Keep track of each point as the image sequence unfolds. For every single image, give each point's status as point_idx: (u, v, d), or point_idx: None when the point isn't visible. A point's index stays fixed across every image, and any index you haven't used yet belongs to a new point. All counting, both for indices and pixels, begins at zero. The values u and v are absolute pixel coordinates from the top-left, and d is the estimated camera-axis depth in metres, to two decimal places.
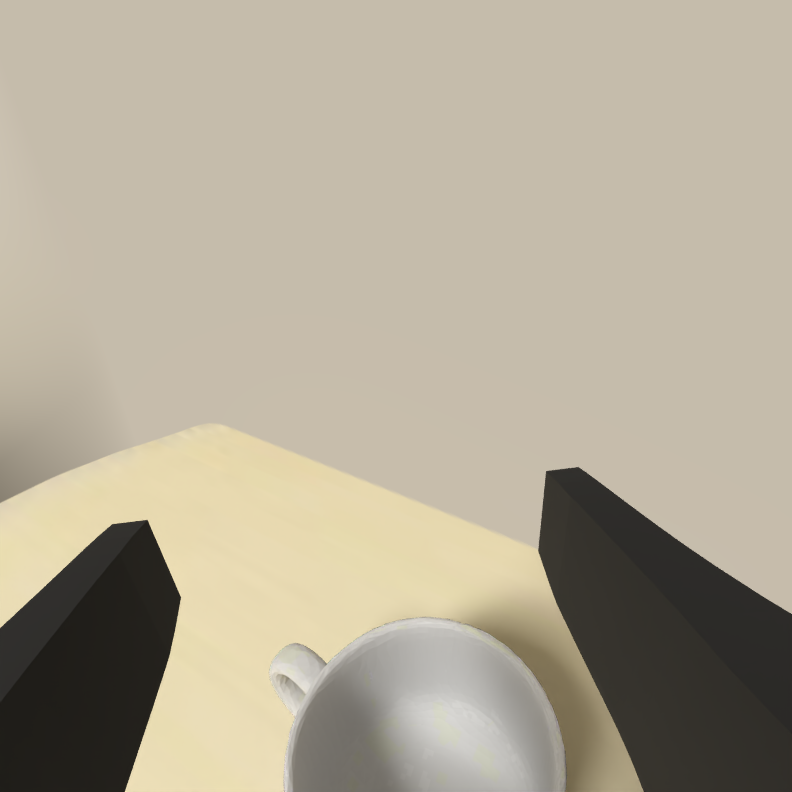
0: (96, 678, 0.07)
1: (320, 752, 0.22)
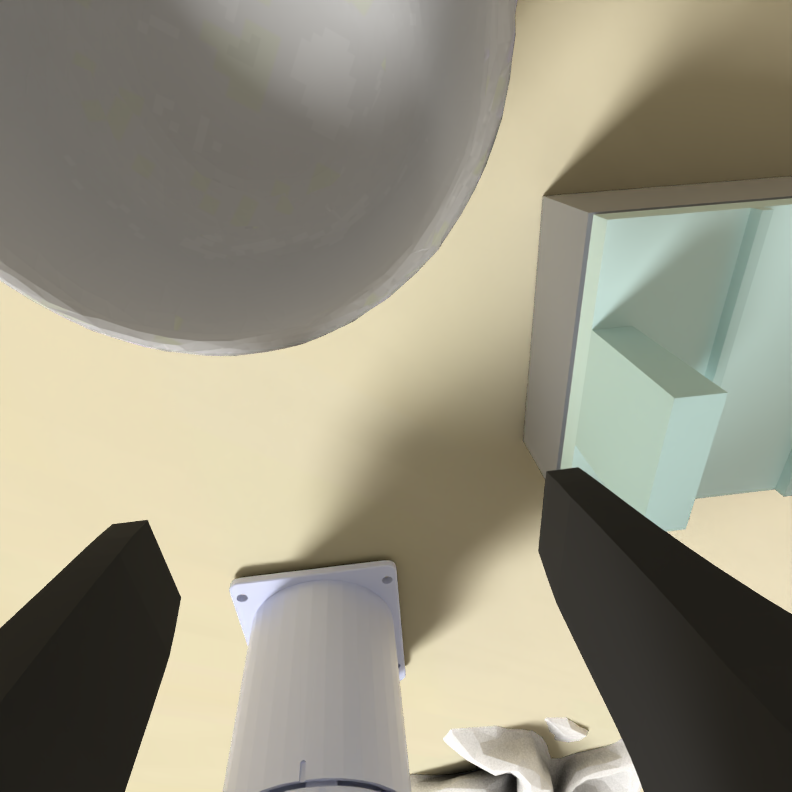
0: (96, 678, 0.07)
1: None
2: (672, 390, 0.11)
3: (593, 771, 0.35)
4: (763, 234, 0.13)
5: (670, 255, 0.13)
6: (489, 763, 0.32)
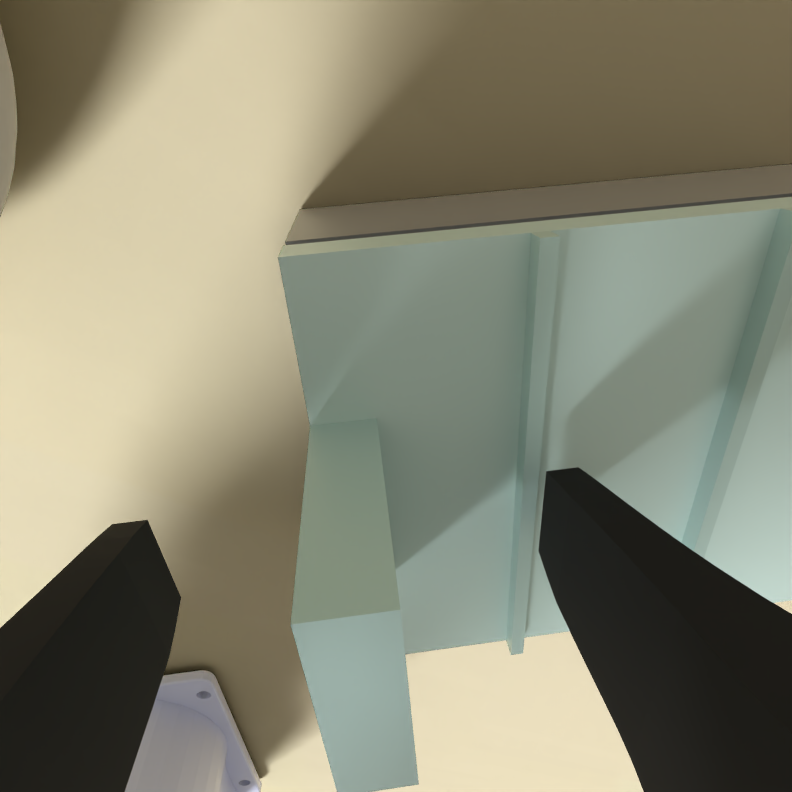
0: (96, 678, 0.07)
1: None
2: (305, 597, 0.06)
3: None
4: (550, 278, 0.07)
5: (409, 312, 0.08)
6: None
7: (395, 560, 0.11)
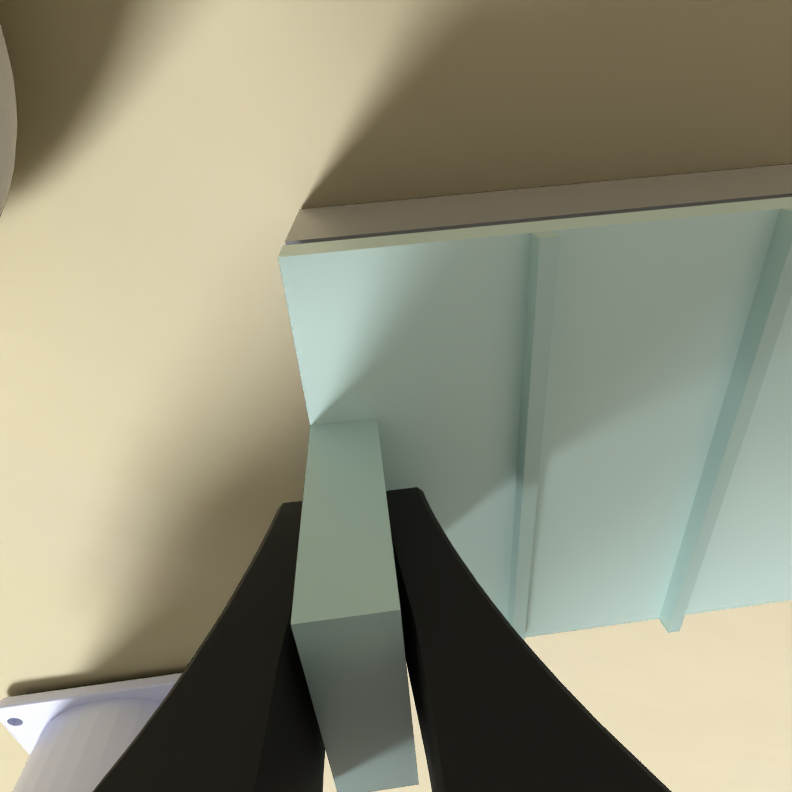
0: None
1: None
2: (306, 597, 0.06)
3: None
4: (550, 278, 0.07)
5: (409, 312, 0.08)
6: None
7: None
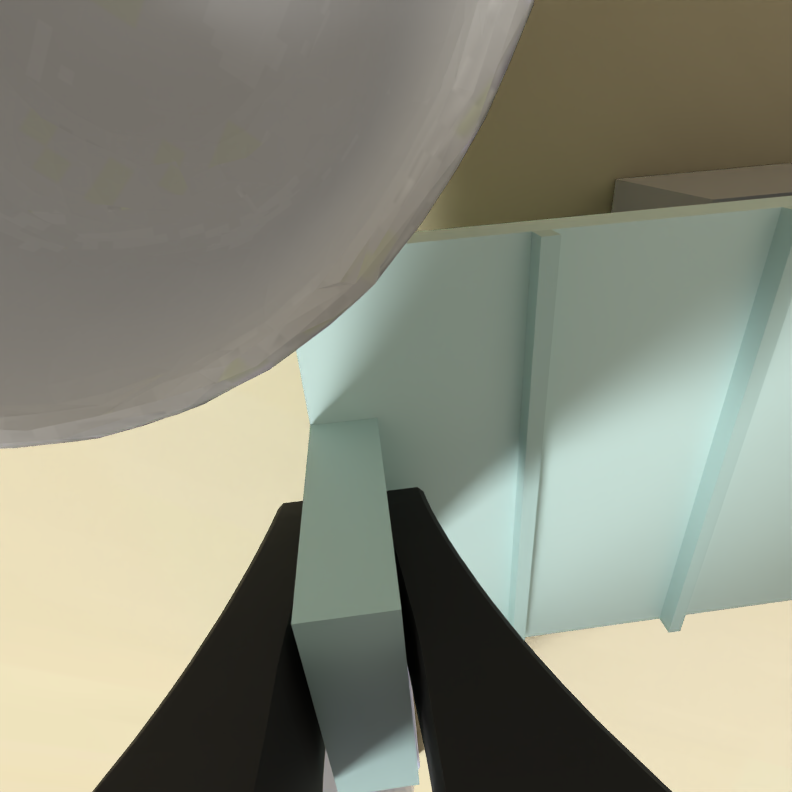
0: None
1: None
2: (306, 597, 0.06)
3: None
4: (551, 277, 0.07)
5: (409, 311, 0.08)
6: None
7: None
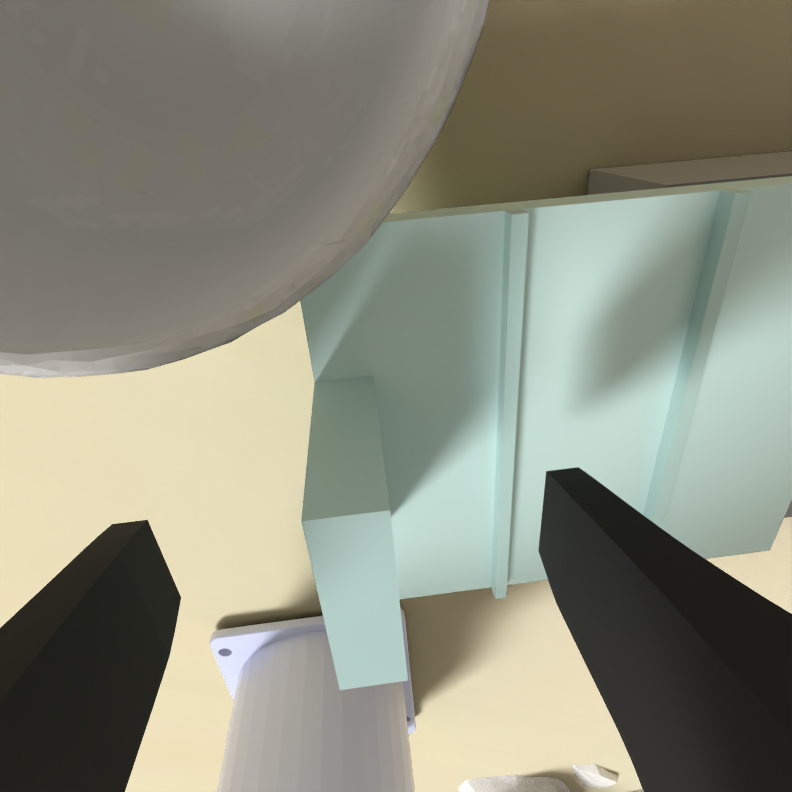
0: (96, 678, 0.07)
1: None
2: (313, 503, 0.07)
3: None
4: (521, 249, 0.09)
5: (400, 280, 0.09)
6: None
7: (390, 508, 0.12)
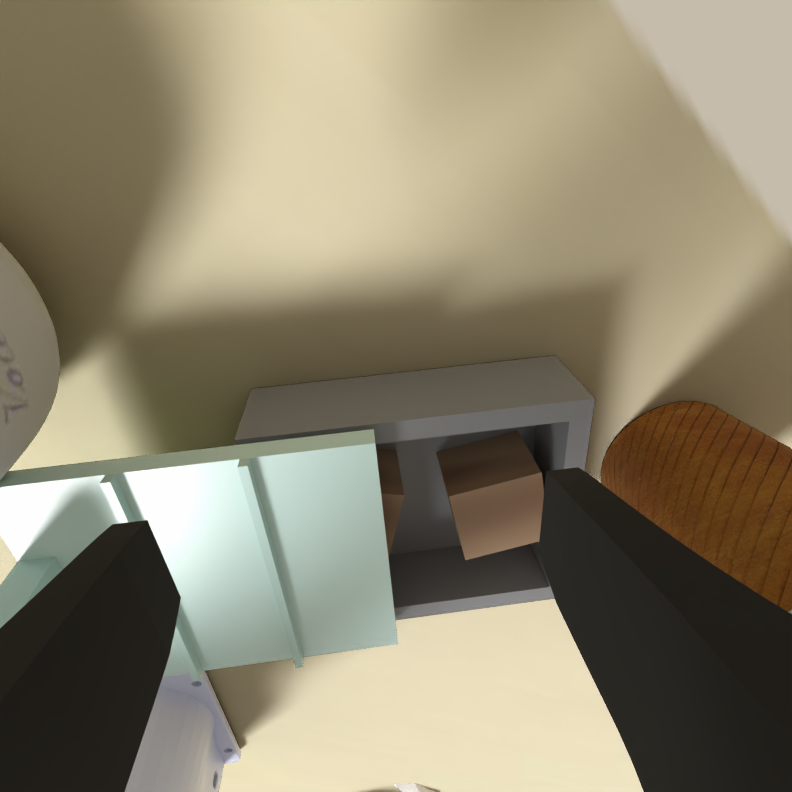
0: (96, 678, 0.07)
1: None
2: None
3: None
4: (113, 498, 0.15)
5: (53, 509, 0.15)
6: None
7: None
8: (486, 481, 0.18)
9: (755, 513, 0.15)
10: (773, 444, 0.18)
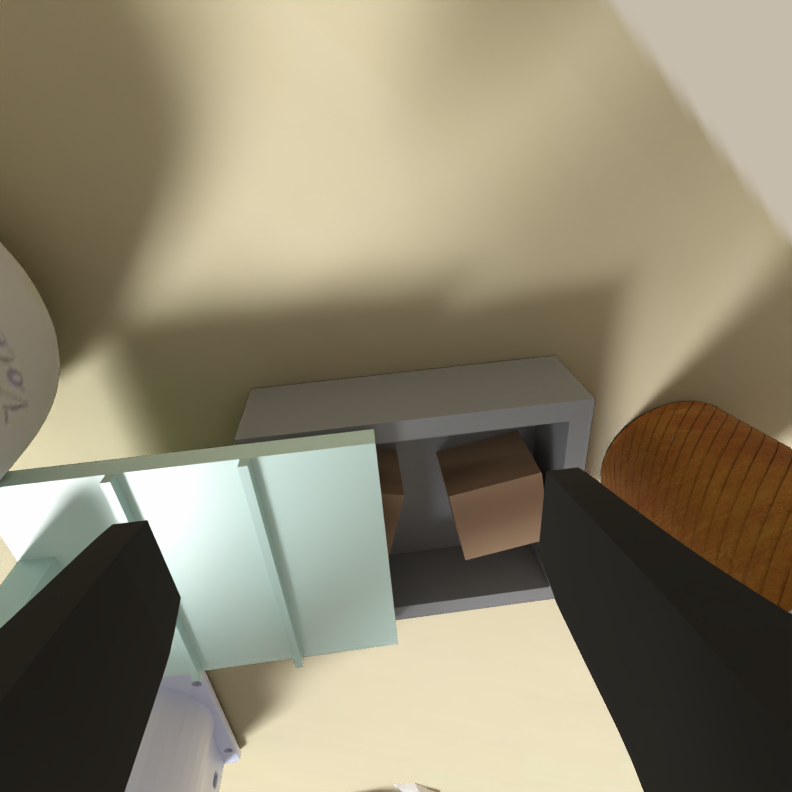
0: (96, 678, 0.07)
1: None
2: None
3: None
4: (113, 498, 0.15)
5: (53, 509, 0.15)
6: None
7: None
8: (486, 481, 0.18)
9: (755, 513, 0.15)
10: (773, 444, 0.18)
